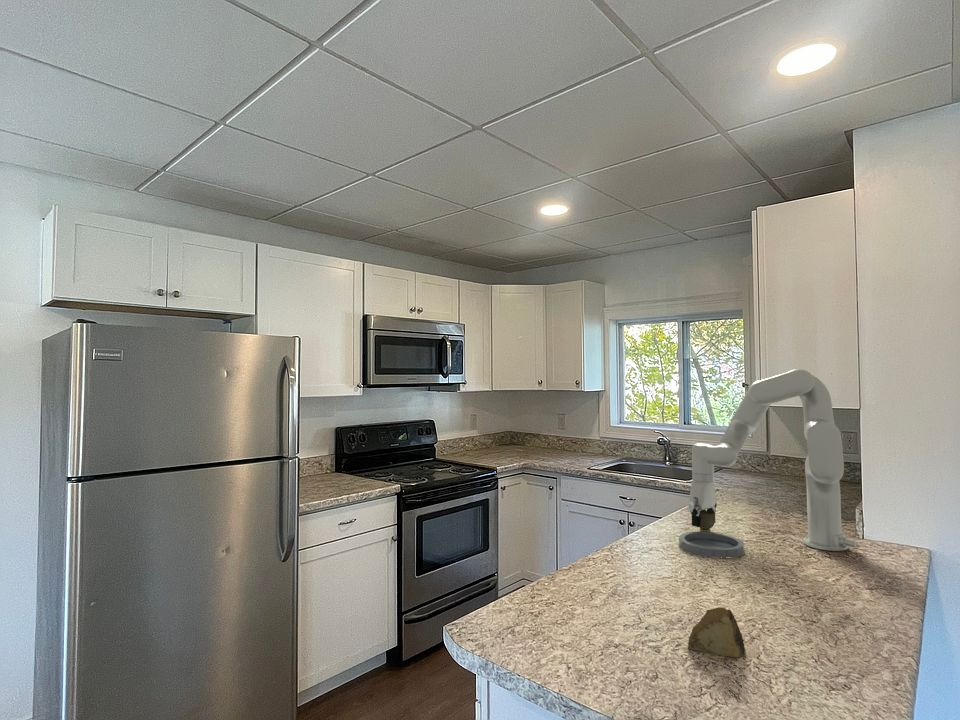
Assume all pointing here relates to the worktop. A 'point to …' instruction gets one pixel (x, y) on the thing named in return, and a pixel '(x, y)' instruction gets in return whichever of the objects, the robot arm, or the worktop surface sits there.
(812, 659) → the worktop surface
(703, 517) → the cup
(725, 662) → the worktop surface
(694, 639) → the rock
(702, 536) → the round dish
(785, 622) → the worktop surface
